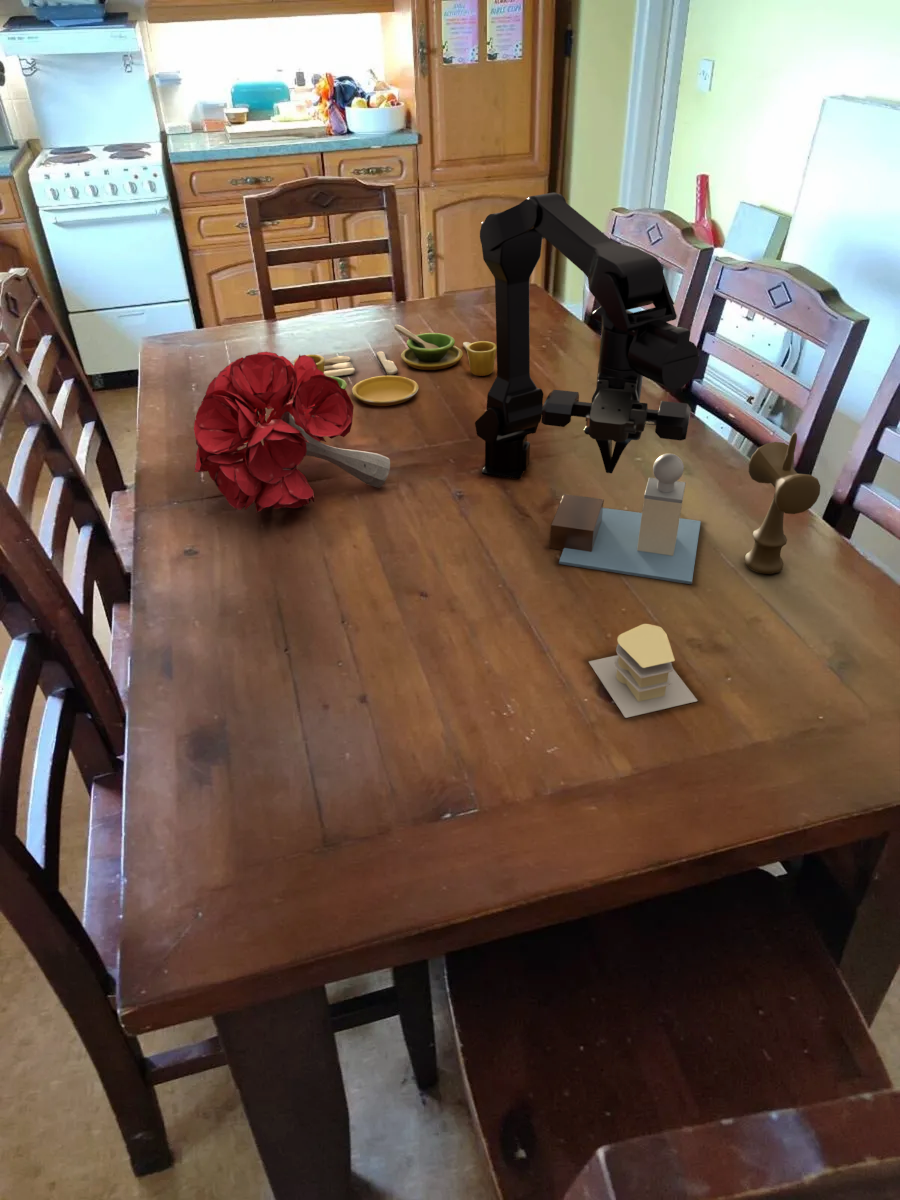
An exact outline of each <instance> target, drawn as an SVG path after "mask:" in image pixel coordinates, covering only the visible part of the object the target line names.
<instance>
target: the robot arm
mask: <svg viewBox="0 0 900 1200" xmlns="http://www.w3.org/2000/svg"><path fill="white" fill-rule="evenodd" d="M480 225H481V226H480V230H479V240H480V244H481V252H482V259H483V261H484V263H485V265H486V266H487V268H488V269H489V272H490V273H491V274H492V276H493V278H494V298H495V302H494V303H495V334H496V335H495V341H496V343H495V345H496V346H497V349H496V378H495V379H494V381H493V383H492V385H491V386H490V389H489V391H488V392H487V396H486V409H485V412H484V413H482V414H481V416H479V418H477V419H476V421H475V422H474V427H475V432H476V436H477V437H479V438H480V439H482V440H483V441H484V467H483V468H482V470H481V474H482V475H483V476H489V477H490V476H491V477H498V478H505V479H514V480H521V478H522V476H523V475H524V472H526V471H527V469H528V468H529V466H530V459H531V458H530V455H531V454H530V453H531V442H530V441H528V435H531V434H532V435H533V434H536V433H537V430H538V427H539V424H540V423H541V424H543V425H545V426H552V427H559V428H565V427H566V426H567V425H569V424H570V423H571V421H572V417H576V418H577V417H578V418H585V427H584V429H583V431H584V434H585V435H589V438H591V439H593V440H595V442H596V444H597V446H598V450H599V452H600V456H601V459H602V464H603V466H604V467H603V468H604V470H605V473H606V474H613V472H614V471H615V468H616V466H617V464H618V462H619V460H620V458H621V456H622V454H623V452H624V451H625V449H626V447H627V446H628V444H629V443H630V442H632V441H639V440H641V437H642V433H643V432H644V431H645V427H646V425H650V426H655V428H654V433H655V434H656V435H657V436H658V437H659V439H663V440H671V441H672V440H673V441H679V442H680V441H684V440H686V439H687V435H688V429H689V424H690V418H691V413H692V408H691V406H690V405H689V403H685V402H676V401H667V400H660V405H659V408H658V409H651V408H648V405H649V404H648V403H647V402H641V395H642V394H641V393H642V387H643V379H644V378H646V379H648V380H650V381H652V382H654V383H656V384H658V385H660V386H662V387H664V388H666V389H668V390H670V391H671V390H674V391H675V390H676V391H677V390H679V389H681V388H683V387H684V386H686V385H687V384H689V382H690V381H691V380H692V379H693V377H694V375H695V374H696V372H697V370H698V367H699V364H700V359H701V358H700V355H699V350H698V346H697V345H696V344H695V343H694V342H692V341H691V340H690V338H691V330H690V329H687V328H685V327H682V326H681V327H680V326H676V325H674V324H671V323H669V322H672V321H675V320H677V318H678V316H677V312H676V310H675V306H674V305H675V302H674V300H673V298H672V296H671V294H670V290H669V286H668V284H667V283H668V282H667V280H666V278H665V274H664V271H663V266H662V264H661V262H660V260H658V258H656V257H655V256H654V255H652V254H650V253H648V252H647V251H644V250H642V249H639V248H638V247H633V246H628V245H624V244H620V243H617V242H616V241H614V240H612V239H611V238H610V237H609V236H607V235H606V234H605V233H604V232H602V230H600V229H599V228H598V227H596V226H595V225H594V224H593V223H592V222H590V220H588V219H586V217H584V216H583V215H581V214H580V213H579V212H578V211H577V210H576V209H574V207H572V206H571V205H570V204H569V203H567V200H566V198H565V197H564V195H563V194H561V193H558V192H548V193H542V194H537V195H530V196H529V197H528V198H526V199H524V200H523V201H521V202H520V203H518V204H517V205H514V206H512V207H510V208H508V209H506V210H503V211H500V212H495V213H489V214H488V215H487V216H486V217H485V219H484V221H482V222H481V224H480ZM543 239H545V240H546V241H547V242H548V243H549V244H550V245H552V246H553V247H554V248H555V249H556V250H557V251H558V252H560V253H561V254H562V255H563V256H564V257H565V258H566V259H568V260H569V261H570V262H571V263H572V264H573V265H574V266H575V267H576V268H578V269H579V270H580V271H581V272H582V273H583V274H584V275H585V277H586V278H587V283H588V284H587V285H588V290H589V292H590V293H591V295H592V296H593V297H594V299H595V300H596V301H597V302H598V303H599V305H600V306H599V308H597V309H595V310H594V311H593V312H591V318H592V319H593V320H596V321H597V322H599V323H601V333H600V342H599V343H600V344H599V351H598V352H599V354H598V363H597V374H596V375H597V376H596V384H595V385H596V386H595V390H594V392H593V394H592V397H591V402H588V401H587V402H586V401H580V394H579V391H571V390H562V389H553V390H551V392H549V394H548V395H547V397H546V399H545V401H544V392H543V389H542V388H540V387H538V386H537V385H536V383H535V382H534V380H533V379H532V377H531V367H530V366H531V364H530V362H531V361H530V359H531V354H530V353H531V348H530V347H531V344H530V343H531V341H530V340H531V337H530V336H531V335H530V333H531V332H530V331H531V329H530V328H531V327H530V323H531V321H530V319H531V318H530V317H531V315H530V308H531V307H530V305H531V303H530V297H531V296H530V293H531V291H530V290H531V289H530V288H531V287H530V279H531V276H532V274H533V272H534V270H535V268H536V266H537V265H538V262H539V261H540V259H541V255H542V244H543ZM650 305H653V306H654V307H651V308H646V309H642V310H639V311H634V312H633V311H631V310H634V309H637V308H641V307H647V306H650ZM613 442H614V443H615V444H614V446H613Z"/></svg>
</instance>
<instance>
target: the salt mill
mask: <svg viewBox="0 0 900 1200" xmlns="http://www.w3.org/2000/svg"><path fill="white" fill-rule="evenodd" d="M684 465H685V464H684V462H683V460H682V459H681V457H679V455H677V454H675V453H663V454H661V455H660V456H658V457H657V458H656V459H655V461H654V462H653V466H652V472H653V473H652V474H653V475H654V477H648V480H647V483H646V487H645V491H644V495H643V504H642V509H641V513H642V517H641V525H640V532H639V539H638V547H637V551H644V552H650V553H657V554H664V555H671V556H673V555H674V549H675V544H676V538H677V532H678V526H679V520H680V518H681V514H682V508H683V501H684V495H685V489H686V484H687V483H686V481H679V479H681V478H682V476H683V474H684V469H685V466H684Z"/></svg>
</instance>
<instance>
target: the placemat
mask: <svg viewBox="0 0 900 1200" xmlns="http://www.w3.org/2000/svg"><path fill="white" fill-rule="evenodd" d="M641 517H642V512H638V511H637V512H636V511H630V510H623V509H615V508H608V507H603V514H602V521H601V524H600V527H599V530H598V534H597V537H596V540H595V543H594V546H593V549H592V552H589V551H582V550H576V549H569V548H564V549H563V550H562V551H561V555H560V557H559V561H558V564H559V565H563V566H569V567H577V568H583V569H589V570H596V571H602V572H608V573H614V574H615V573H616V574H620V575H628V576H634V577H640V578H648V579H653V580H659V581H666V582H673V583H678V584H685V585H686V584H687V585H693V578H694V571H695V564H696V558H697V552H698V551H697V550H698V544H699V537H700V531H701V524H702V521H701V520H696V519H688V518H682V517H680V520H679V526H678V532H677V538H676V544H675V549H674V555H673V556H671V555H664V554H657V553H650V552H644V551H637V547H638V539H639V532H640V525H641Z"/></svg>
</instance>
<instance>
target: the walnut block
mask: <svg viewBox="0 0 900 1200" xmlns="http://www.w3.org/2000/svg"><path fill="white" fill-rule="evenodd" d="M604 502H605V499H604V498H597V497H591V496H590V497H589V496H583V495H575V494H567V493H563V495H562V496H561V499H560V501H559V504H558V507H557V509H556V511H555V514H554V517H553V519H552V521H551V524H550V533H549V534H550V535H549V549H550V550H551V549H552V550H557V551H563V549H564V548H569V549H576V550H582V551H589V552H592V549H593V546H594V543H595V540H596V537H597V534H598V530H599V527H600V524H601V521H602V514H603V508H604Z"/></svg>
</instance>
